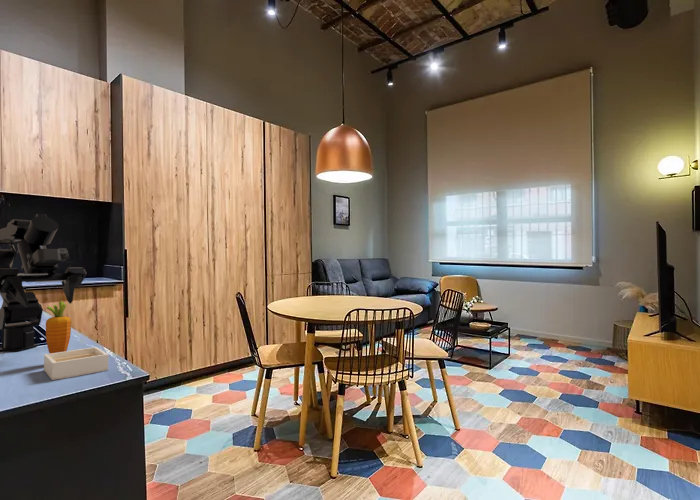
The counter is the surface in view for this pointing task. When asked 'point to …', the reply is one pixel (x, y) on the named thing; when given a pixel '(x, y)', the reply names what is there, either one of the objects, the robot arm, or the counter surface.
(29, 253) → the robot arm
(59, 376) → the beige open box
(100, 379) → the counter surface
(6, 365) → the counter surface
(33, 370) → the counter surface
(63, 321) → the carrot
